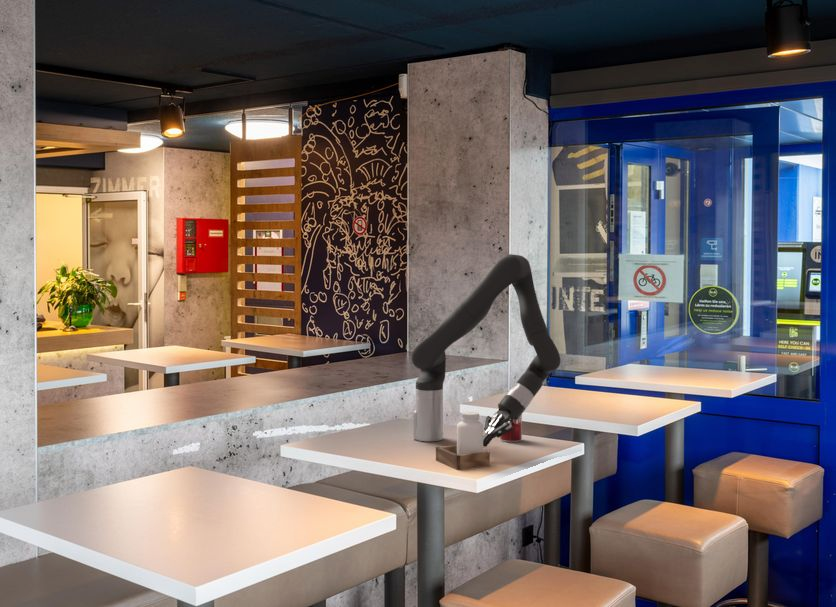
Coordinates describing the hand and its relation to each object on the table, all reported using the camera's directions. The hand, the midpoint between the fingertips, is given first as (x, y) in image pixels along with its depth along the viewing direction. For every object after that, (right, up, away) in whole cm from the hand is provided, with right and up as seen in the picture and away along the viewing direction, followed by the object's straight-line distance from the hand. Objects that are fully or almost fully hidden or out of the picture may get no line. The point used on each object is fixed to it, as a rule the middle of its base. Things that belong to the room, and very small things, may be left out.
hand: (482, 444), depth 277 cm
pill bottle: (-4, -5, -2) cm, 7 cm away
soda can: (+12, -3, +29) cm, 32 cm away
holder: (-6, -5, -2) cm, 8 cm away
